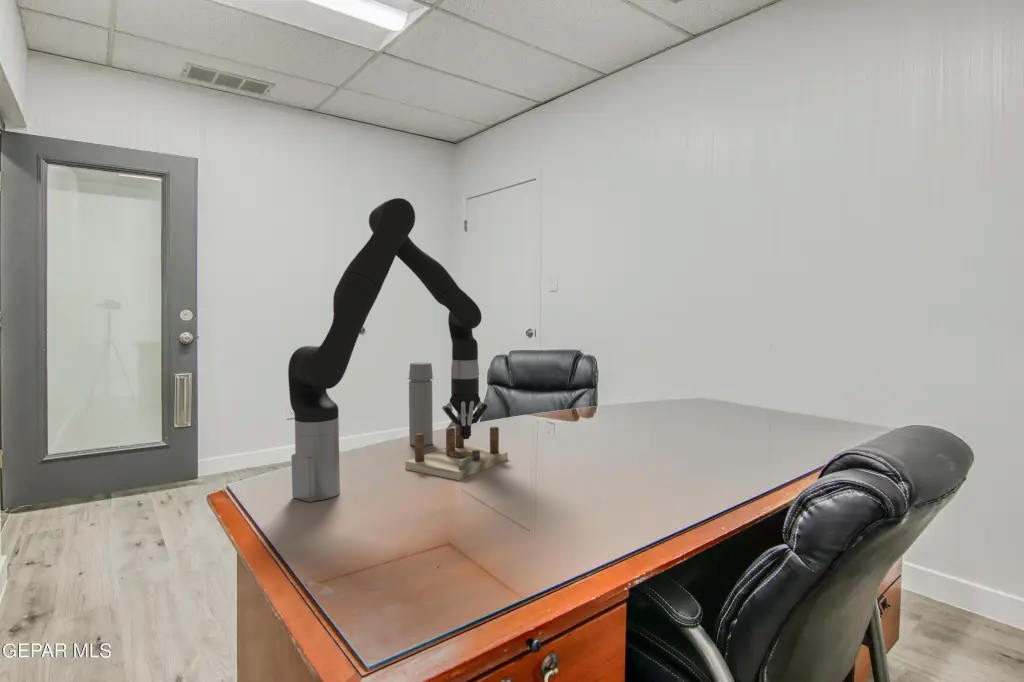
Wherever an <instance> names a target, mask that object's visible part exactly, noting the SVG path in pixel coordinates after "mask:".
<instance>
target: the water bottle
mask: <svg viewBox="0 0 1024 682" xmlns="http://www.w3.org/2000/svg"><path fill="white" fill-rule="evenodd" d="M433 377H434V376H433V367H432V363H431V362H429V361H426V362H425V361H421V362H420V361H419V362H416V361H415V362H410V363H409V371H408V378H407V380H408V410H409V411H408V413H409V415H408V418H409V419H408V422H409V423H408V425H409V430H408V431H409V444H410V445H411V446H414V447H415V434H417V433H423V434H424V447H427V445H428V446H430V445H431V444H432V443H433V440H434V439H433V437H434V436H433V433H434V432H433V380H434V378H433Z"/></svg>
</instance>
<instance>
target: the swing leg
mask: <svg viewBox="0 0 1024 682" xmlns="http://www.w3.org/2000/svg"><path fill="white" fill-rule="evenodd" d="M445 448H446V455H450V456H455V457H461V458H466V457H472V460H479V459H480V451H478V450H474V451H472V452H467V451H462V450H456V449H455V427H446V428H445Z"/></svg>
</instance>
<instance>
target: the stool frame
mask: <svg viewBox="0 0 1024 682" xmlns="http://www.w3.org/2000/svg"><path fill="white" fill-rule="evenodd" d="M454 424H455V423H454ZM454 428H455V449H456V450H462V451H467V452H472V451H474V450H478V451H480V459H479V460H472V457H466V458H461V457H455V456H450V455H446V447H444V448H442V449H441V448H440V449H439V450H436V451H432V452H429V453H427V454H425V446H424V434H423V433H417V434H415V446H414V458H412V459H409V460H406V461H404V462H405V467H404V469H405V470H408V471H413V472H418V473H422V474H428V475H431V476H437V477H442V478H446V479H451V480H457V481H460V480H463V479H465V478H467V477H470V476H472V475H474V474H476V473H479V472H481V471H483V470H486V469H488V468H490V467H493V466H495V465H498V464H500V463H503V462H505V461H507V460H508V458H509V457H508V454H509V453H508V451H502V450H500V449H499V447H500V446H499V445H500V444H499V443H500V441H499V437H500V436H499V433H500V431H499V428H500V427H499V426H491V427H489V448H484V447H478V446H471V445H467V444H465V439H462V437H460V426H459V425H458V424H455V427H454Z"/></svg>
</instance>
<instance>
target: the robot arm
mask: <svg viewBox="0 0 1024 682" xmlns="http://www.w3.org/2000/svg"><path fill="white" fill-rule="evenodd" d="M415 223H416V212H415V209H414V206H413V205H412V203H411V202H409V201H408V200H407V199H406V198H402V197H392V198H389V199H387V200H386V201H384V202H383V203H381V204H379V205H378V206H377V207H375V208H374V209H373V210H371V212H370V214H369V217H368V225H369V228H370V230H371V232H372V234H371V235H370V237H369V239H368V241H367V242H366V243H365V244H364V246H362V248H361V249H360V251H358V253H357V254H356V255H355V257H354V258H353V259H352V260H351V261H350V263H349V264H348V265H347V267H346V269H345V270H344V272H343V274H342V276H341V277H340V279H339V281H338V283H337V285H336V287H335V290H334V293H333V302H332V303H333V305H332V307H333V309H332V310H333V318H332V323H331V326H330V328H329V330H328V332H327V334H326V336H325V338H324V339H323V341H322V343H321V344H320V345H319V346H316V345H305V346H301V347H299V348H297V349H295V351H294V352H293V353H292V354H291V355H290V359H289V361H288V370H287V376H288V390H289V402H290V403H289V404H290V406H291V410H292V411H293V413H294V439H295V440H294V444H295V446H294V447H295V449H294V451H295V452H294V454H291V490H292V492H291V493H292V498H294V499H297V500H301V501H305V502H308V503H312V502H314V501H322V500H328V499H331V498H334V497H336V496H338V495H340V492H341V480H340V478H341V477H340V475H341V474H340V472H341V471H340V427H339V425H340V423H339V421H340V420H339V406H338V404H337V403H336V402H334V400H332V398H331V397H330V396H329V395H328V392H327V390H329V389H333V388H334V387H336V386H337V385H338V384H339V383H340V382H341V380H342V379H343V378H344V376H345V373H346V370H347V368H348V365H349V362H350V360H351V357H352V355H353V351H354V349H355V345H356V343H357V340H358V338H359V336H360V335H361V334H360V333H361V331H362V329H363V327H364V325H365V323H366V320H367V318H368V316H369V313H370V311H371V310H372V308H373V306H374V304H375V303H376V301H377V298H378V295H380V292H381V290H382V287H383V286H384V282H385V281H386V279H387V276H388V274H389V272H390V269H391V267H392V264H393V263H394V261H395V259H396V257H397V258H398V259H399V260H400V261H401V262H402V263H403V264H404V265H405V266H406V267H407V268H409V270H410V271H411V272H412V273H413V274H414V275H415V276H416V277H417V278H418V279H419V281H420V282H421V284H423V286H424V287H425V288H426V290H427V291H428V292H429V293H430V295H431V296H432V297H433V298H434V300H435V301H436V302H437V303H438V304H440V305H442V306H444V307H445V308H446V309H447V310H448V311H449V313H448V319H447V320H448V327H449V329H448V330H449V336H450V339H451V345H452V346H451V347H452V348H451V368H450V370H451V372H450V373H451V375H450V377H451V378H450V379H451V384H450V386H451V387H450V389H451V393H450V394H451V395H450V398H449V402H448V403H447V404H446V405H443V406H442V407H441V409H442V411H443V412H444V413H445V415H446V416H447V417H448V418H449V419H450V420H451V422H452V423H454V424H458V425H459V426H460V437H462V439H464V440H469V439H470V437H471V436H472V425H473V424H476V423H477V422H478V421H479V420H480V419H481V417H482V416H483V414H484V413H485V411H486V410H487V408H488V404H486V403H484V402H483V401H481V397H480V394H479V393H480V388H479V387H480V383H479V382H480V380H479V378H480V377H479V376H480V369H479V367H480V366H479V361H478V358H479V356H478V355H479V349H478V347H479V346H478V341H477V340H476V338H475V337H474V334H473V329H476V328H477V327H478V326H479V325H480V324H481V322H482V312H481V309H480V307H479V305H477V303H476V302H475V301H474V300H473V299H472V298H471V297H470V296H469V295H468V294H467V293H466V292H465V291H464V290H463V289H461V288H460V286H459V285H458V284H457V282H456V281H455V280H454V278H453V277H452V276H451V274H450V273H449V272H448V271H447V269H446V268H445V267H444V266H443V265H442V264H441V263H440V262H438V260H436V259H435V258H433V257H432V256H430V255H429V254H428V253H426V252H424V251H423V250H422V249H420V247H418V246H417V245H416V244H415V243H414V242H413V241H412V239H411V238H410V237H409V234H410V233H411V232H412V230H413V229H414V226H415ZM453 411H456V413H457V416H456V415H455V414H454V412H453Z"/></svg>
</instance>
